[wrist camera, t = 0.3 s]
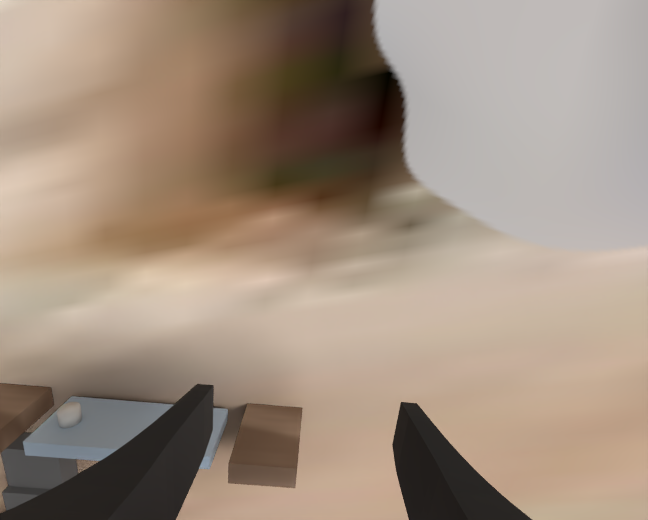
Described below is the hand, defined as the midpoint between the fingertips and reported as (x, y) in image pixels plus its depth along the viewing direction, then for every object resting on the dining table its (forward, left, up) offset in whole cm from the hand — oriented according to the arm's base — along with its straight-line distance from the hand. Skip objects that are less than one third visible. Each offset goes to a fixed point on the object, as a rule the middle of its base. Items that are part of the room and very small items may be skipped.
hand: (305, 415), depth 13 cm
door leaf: (-8, +11, -9) cm, 17 cm away
